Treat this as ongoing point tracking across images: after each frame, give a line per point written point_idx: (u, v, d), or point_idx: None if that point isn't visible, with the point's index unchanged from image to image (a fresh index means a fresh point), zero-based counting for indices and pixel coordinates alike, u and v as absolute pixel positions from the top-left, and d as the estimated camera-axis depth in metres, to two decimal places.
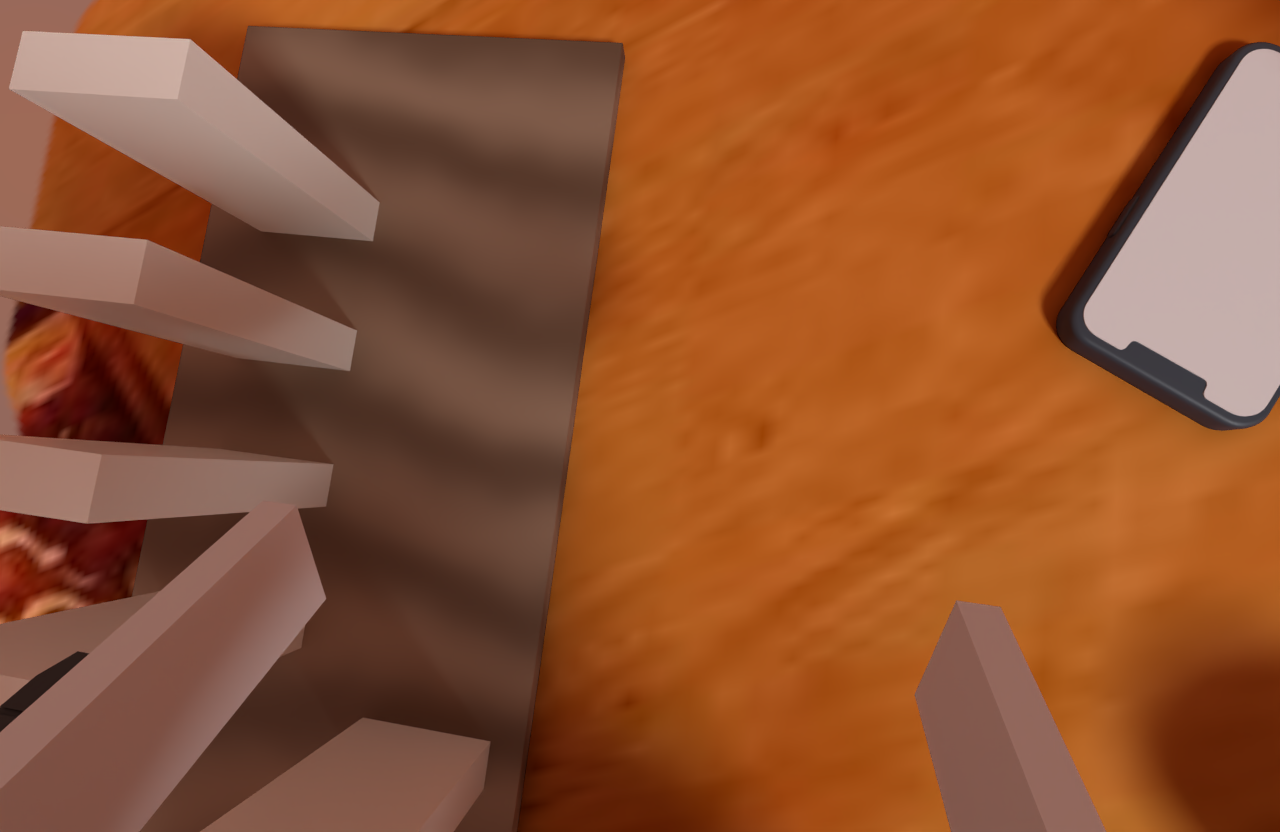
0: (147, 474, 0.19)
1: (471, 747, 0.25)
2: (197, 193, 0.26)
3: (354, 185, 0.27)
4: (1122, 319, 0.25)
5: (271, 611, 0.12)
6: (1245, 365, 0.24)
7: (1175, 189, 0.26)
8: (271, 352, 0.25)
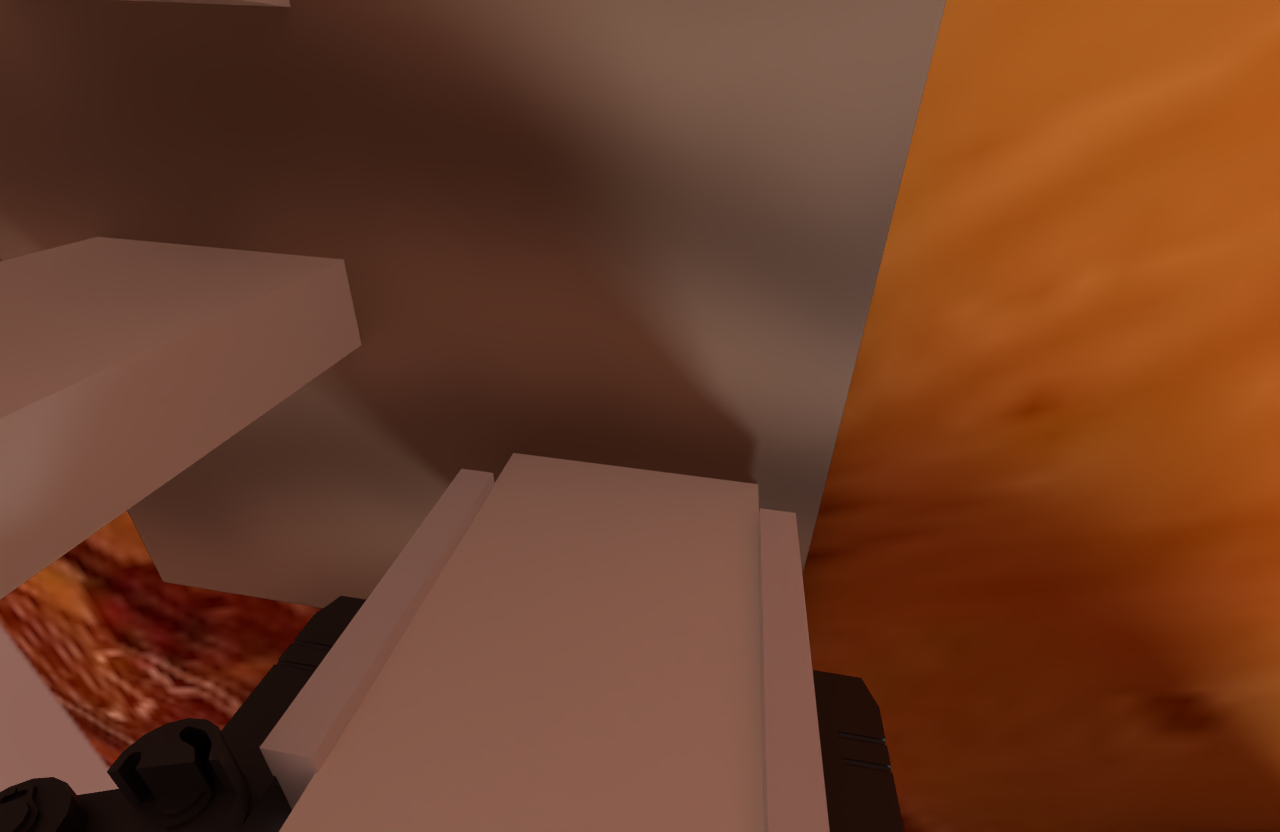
0: None
1: (734, 502, 0.13)
2: None
3: None
4: None
5: None
6: None
7: None
8: None
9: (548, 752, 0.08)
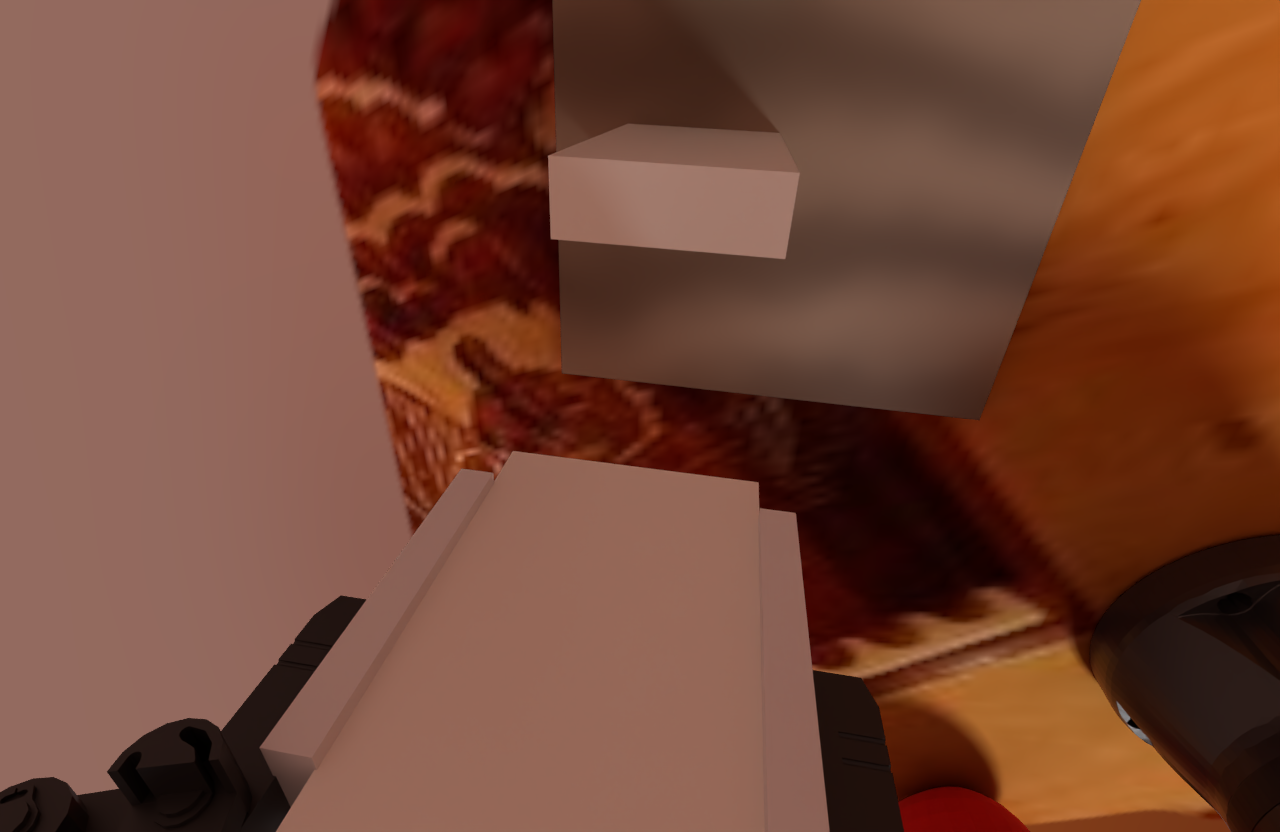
0: None
1: (734, 500, 0.13)
2: None
3: None
4: None
5: None
6: None
7: None
8: None
9: (548, 750, 0.08)
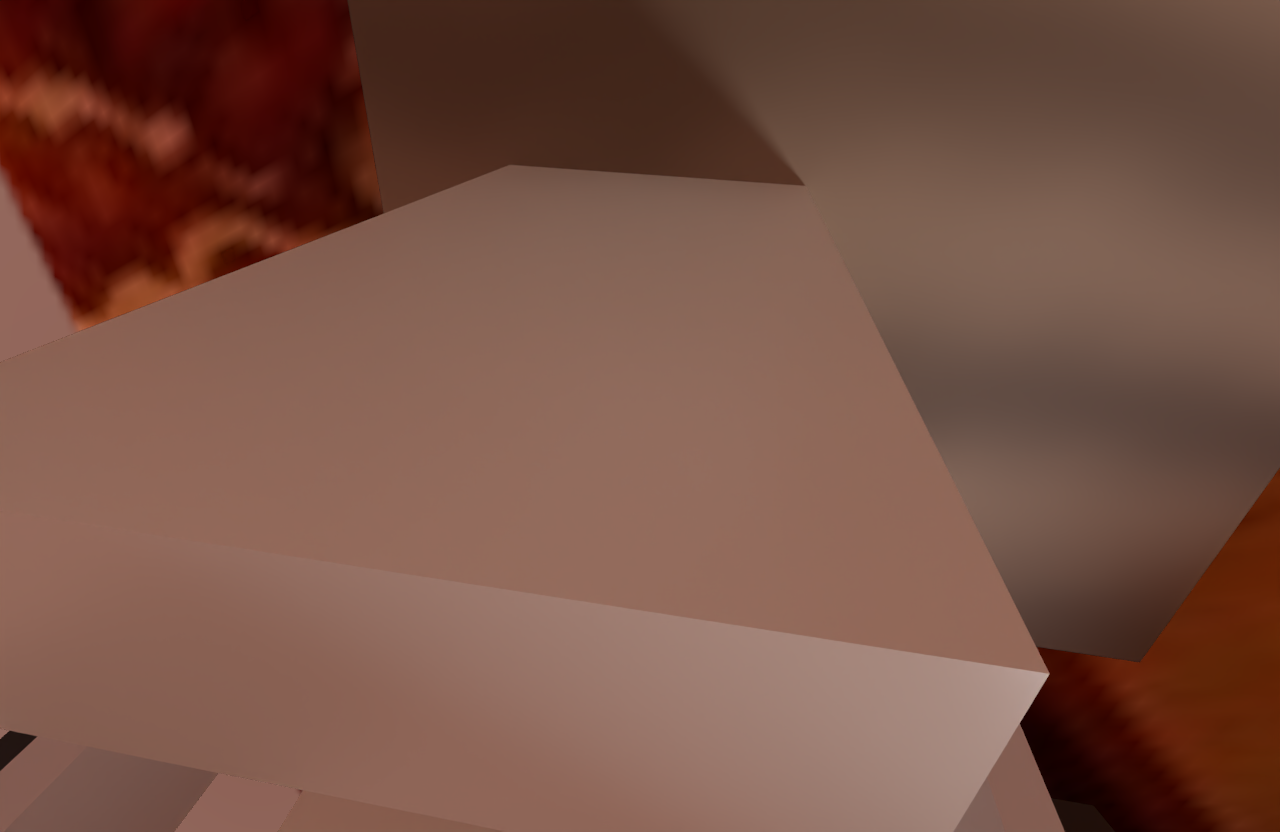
0: None
1: None
2: None
3: None
4: None
5: None
6: None
7: None
8: None
9: None
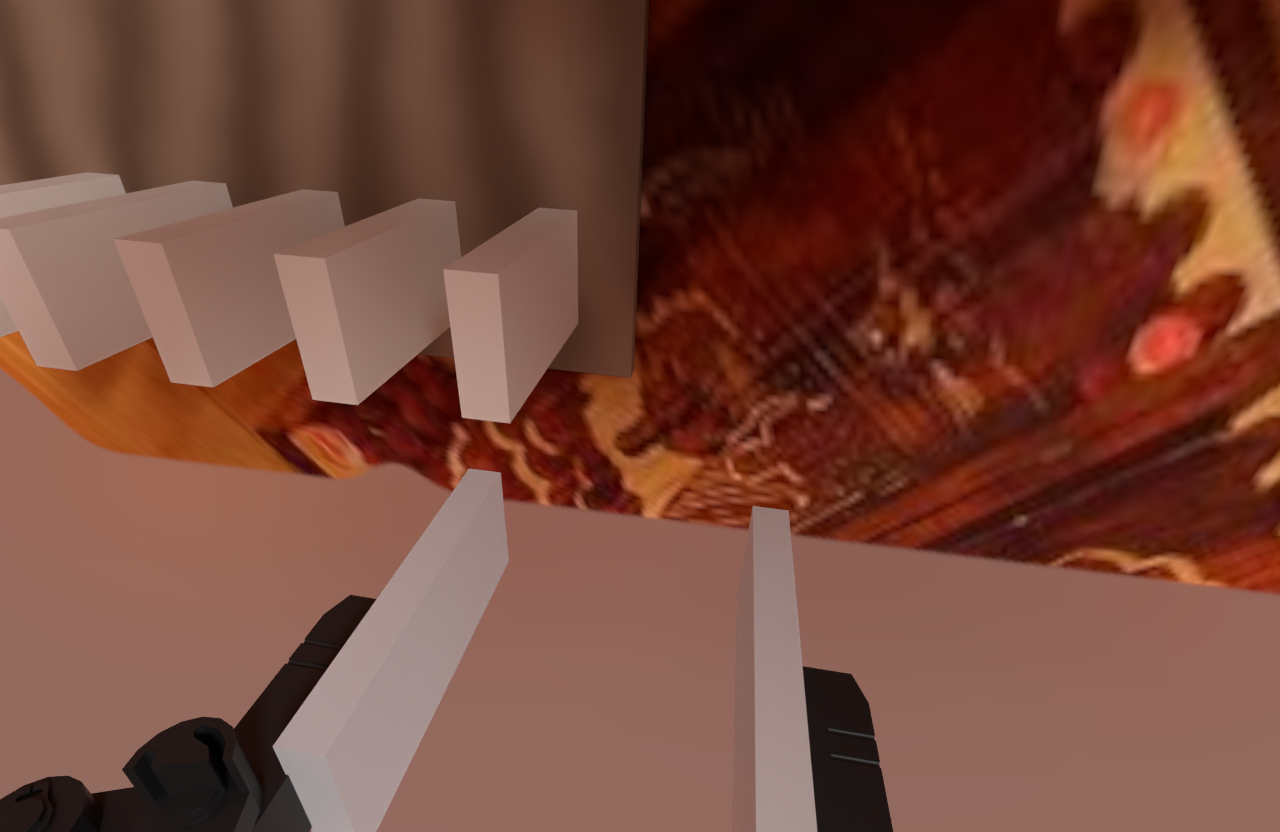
0: (163, 230, 0.23)
1: None
2: None
3: (52, 178, 0.31)
4: None
5: (484, 567, 0.13)
6: None
7: None
8: None
9: None
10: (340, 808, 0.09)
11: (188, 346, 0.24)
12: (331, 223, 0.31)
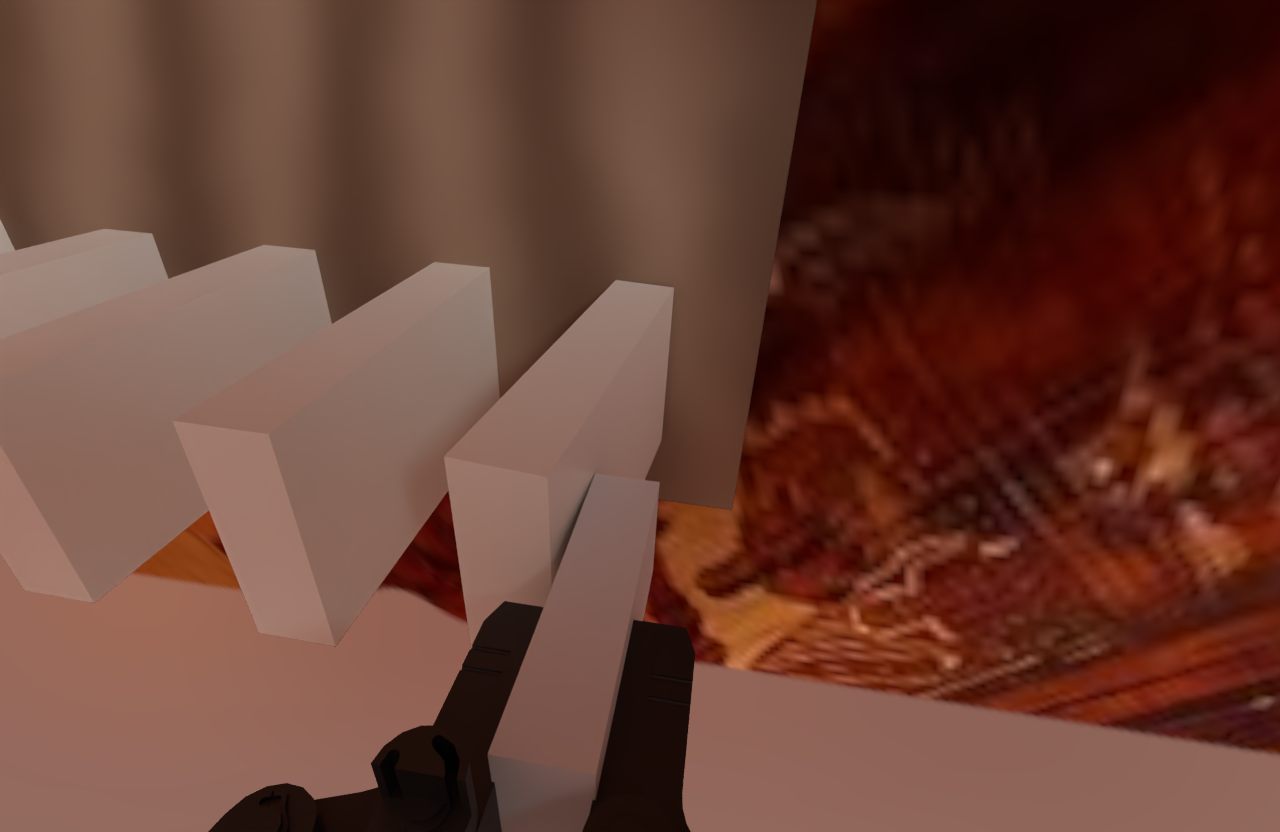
0: None
1: None
2: None
3: None
4: None
5: None
6: None
7: None
8: (73, 299, 0.20)
9: None
10: (539, 815, 0.09)
11: (44, 545, 0.14)
12: (305, 296, 0.21)
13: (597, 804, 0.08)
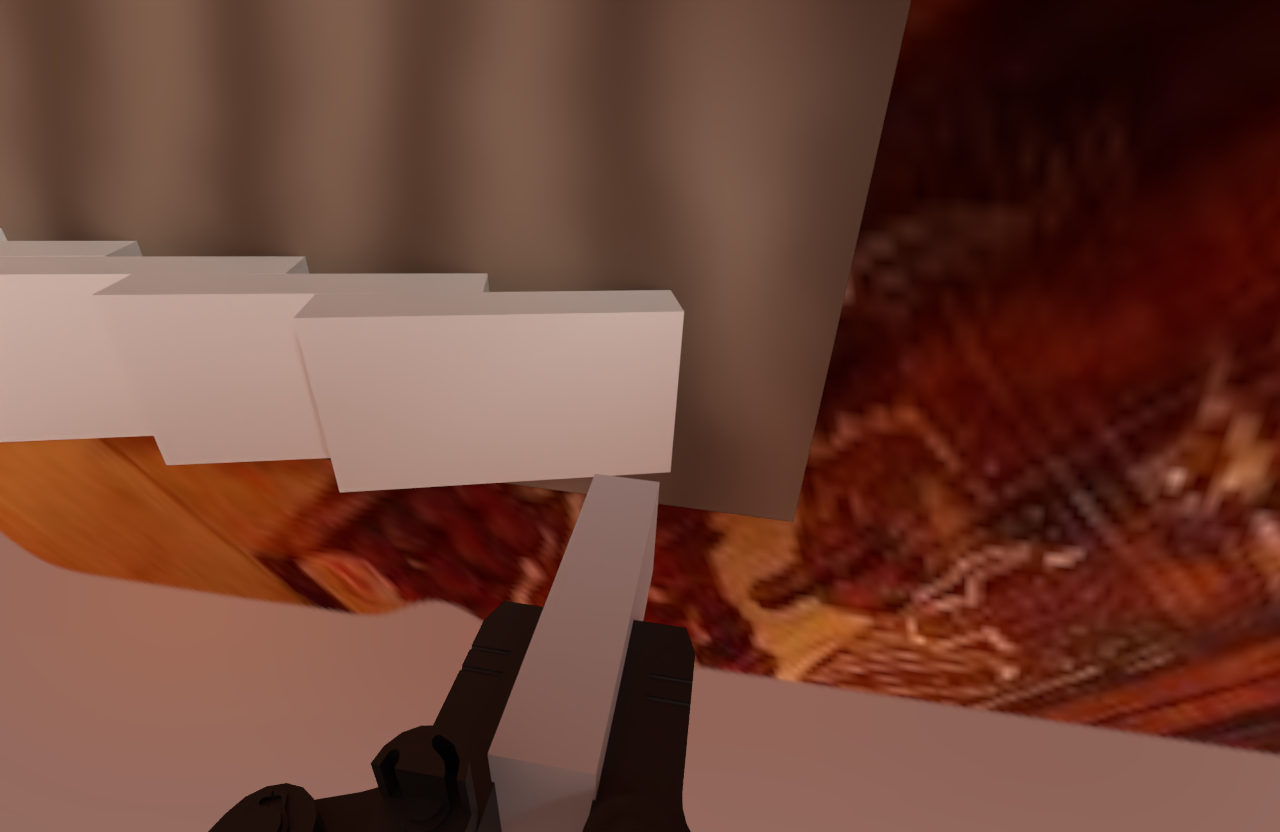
0: None
1: None
2: None
3: None
4: None
5: None
6: None
7: None
8: None
9: None
10: (539, 815, 0.09)
11: None
12: None
13: (597, 804, 0.08)
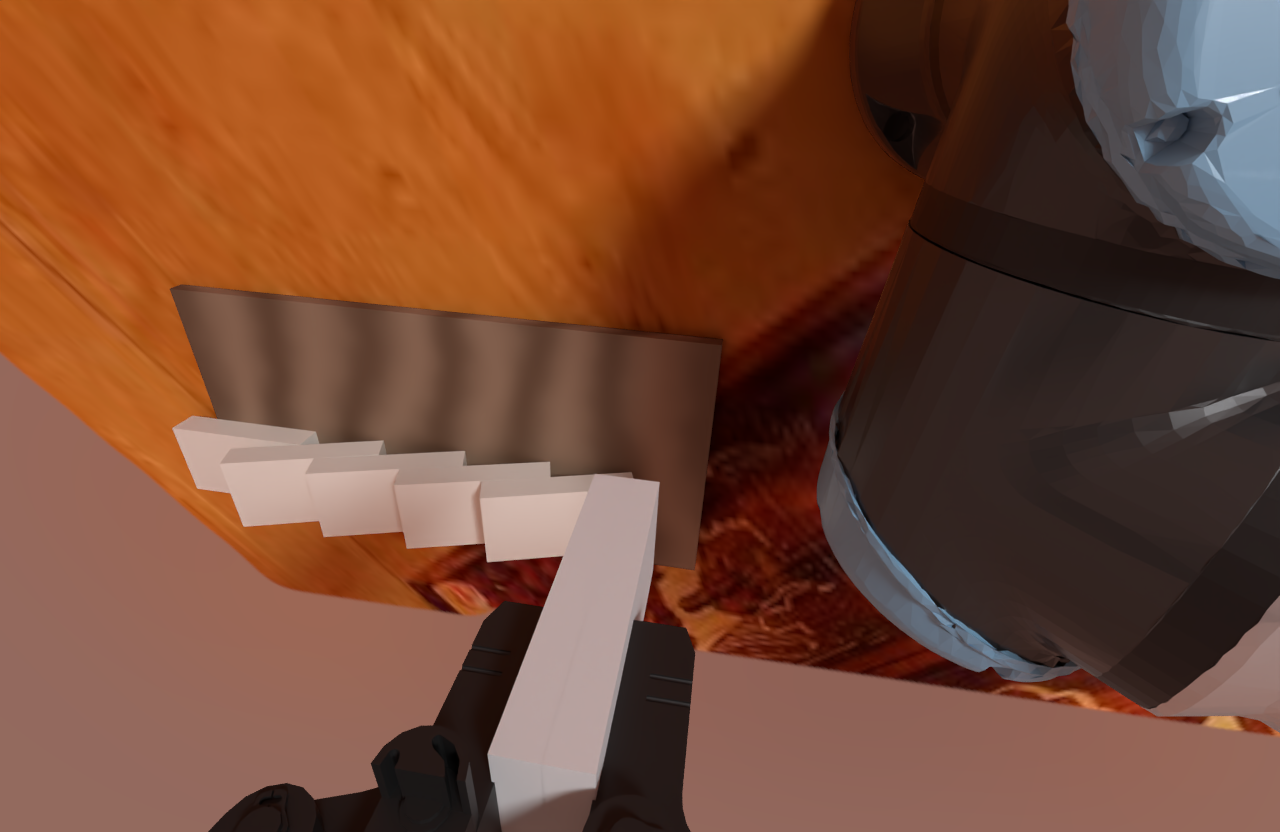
0: (334, 461, 0.44)
1: None
2: None
3: (290, 429, 0.48)
4: None
5: None
6: None
7: None
8: None
9: None
10: (539, 815, 0.09)
11: None
12: None
13: (597, 804, 0.08)
